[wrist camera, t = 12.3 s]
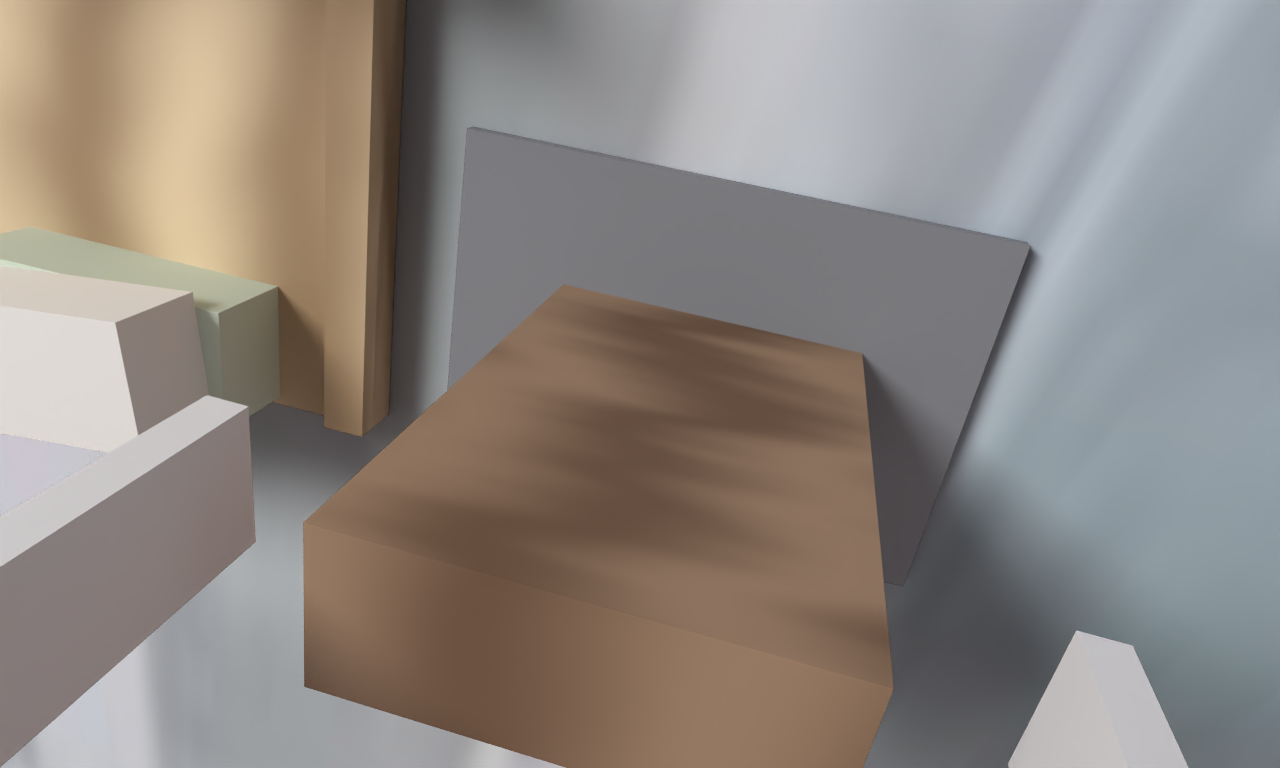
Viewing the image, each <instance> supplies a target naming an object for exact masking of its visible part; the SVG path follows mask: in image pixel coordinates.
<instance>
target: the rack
mask: <svg viewBox="0 0 1280 768" xmlns="http://www.w3.org/2000/svg"><path fill="white" fill-rule="evenodd" d="M405 18H406V0H0V234H1V233H5V232H10V231H14V230H18V229H22V228H27V227H35V228H39V229H44V230H48V231H52V232H56V233H60V234H64V235H68V236H72V237H77V238H81V239H85V240H89V241H93V242H97V243H101V244H105V245H110V246H114V247H118V248H122V249H126V250H130V251H134V252H138V253H143V254H147V255H151V256H155V257H159V258H163V259H167V260H171V261H175V262H180V263H184V264H188V265H192V266H196V267H200V268H204V269H208V270H213V271H217V272H221V273H225V274H229V275H233V276H237V277H241V278H246V279H250V280H254V281H258V282H262V283H266V284H270V285H274V286H278V313H279V364H280V397H279V398H277V399H276V400H274V401H273V402H274V403H278V404H282V405H286V406H290V407H293V408H297V409H301V410H305V411H309V412H313V413H316V414H320V415H324V427H326V428H330V429H333V430H337V431H341V432H345V433H348V434H352V435H356V436H360V437H362V436H364V435H365V434H366V433H367V432H368V431H370V430H371V429H372V428H373V427H374V426H375V425H377V424H378V423H379V422H380V421H381V420H383V419H384V418H385V417H386V416H387V415H388V414H389V395H390V371H391V348H392V324H393V301H394V277H395V254H396V230H397V206H398V183H399V159H400V136H401V112H402V88H403V65H404V41H405Z"/></svg>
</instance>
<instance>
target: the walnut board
mask: <svg viewBox="0 0 1280 768" xmlns="http://www.w3.org/2000/svg"><path fill="white" fill-rule="evenodd" d="M303 543H304V687H307V688H310V689H314V690H317V691H320V692H323V693H327V694H330V695H333V696H336V697H340V698H343V699H346V700H349V701H353V702H356V703H359V704H362V705H365V706H369V707H372V708H375V709H378V710H382V711H385V712H388V713H391V714H395V715H398V716H401V717H404V718H408V719H411V720H414V721H417V722H421V723H424V724H427V725H430V726H433V727H437V728H440V729H443V730H446V731H450V732H453V733H456V734H459V735H463V736H466V737H469V738H472V739H476V740H479V741H482V742H485V743H488V744H492V745H495V746H498V747H501V748H505V749H508V750H511V751H514V752H518V753H521V754H524V755H527V756H531V757H534V758H537V759H540V760H543V761H547V762H550V763H553V764H556V765H560V766H563V767H566V768H863V766H864V763H865V761H866V758H867V756H868V753H869V751H870V748H871V746H872V743H873V741H874V738H875V735H876V733H877V730H878V728H879V725H880V723H881V720H882V718H883V715H884V713H885V710H886V708H887V705H888V703H889V700H890V697H891V695H892V692H893V690H894V685H893V675H892V664H891V653H890V643H889V632H888V622H887V611H886V601H885V590H884V579H883V569H882V558H881V548H880V537H879V527H878V516H877V505H876V495H875V484H874V474H873V463H872V453H871V442H870V431H869V421H868V410H867V400H866V389H865V379H864V368H863V357H862V353H858V352H854V351H850V350H845V349H841V348H837V347H833V346H828V345H824V344H820V343H815V342H811V341H807V340H802V339H798V338H794V337H789V336H785V335H781V334H776V333H772V332H768V331H763V330H759V329H755V328H750V327H746V326H742V325H737V324H733V323H729V322H724V321H720V320H716V319H711V318H707V317H703V316H698V315H694V314H690V313H686V312H681V311H677V310H673V309H668V308H664V307H660V306H655V305H651V304H647V303H642V302H638V301H634V300H629V299H625V298H621V297H616V296H612V295H608V294H603V293H599V292H595V291H590V290H586V289H582V288H577V287H573V286H569V285H564V284H563V285H562V286H561V287H560V288H559V289H558V290H557V291H556V292H554V293H553V294H552V295H551V296H550V297H549V298H548V299H547V300H546V301H545V302H544V303H542V304H541V305H540V306H539V307H538V308H537V309H536V310H535V311H534V312H533V313H532V314H530V315H529V316H528V317H527V318H526V319H525V320H524V321H523V322H522V323H521V324H520V325H518V326H517V327H516V328H515V329H514V330H513V331H512V332H511V333H510V334H509V335H508V336H506V337H505V338H504V339H503V340H502V341H501V342H500V343H499V344H498V345H497V346H496V347H494V348H493V349H492V350H491V351H490V352H489V353H488V354H487V355H486V356H485V357H484V358H482V359H481V360H480V361H479V362H478V363H477V364H476V365H475V366H474V367H473V368H472V369H471V370H469V371H468V372H467V373H466V374H465V375H464V376H463V377H462V378H461V379H460V380H459V381H457V382H456V383H455V384H454V385H453V386H452V387H451V388H450V389H449V390H448V391H447V392H445V393H444V394H443V395H442V396H441V397H440V398H439V399H438V400H437V401H436V402H435V403H433V404H432V405H431V406H430V407H429V408H428V409H427V410H426V411H425V412H424V413H423V414H421V415H420V416H419V417H418V418H417V419H416V420H415V421H414V422H413V423H412V424H411V425H409V426H408V427H407V428H406V429H405V430H404V431H403V432H402V433H401V434H400V435H399V436H397V437H396V438H395V439H394V440H393V441H392V442H391V443H390V444H389V445H388V446H387V447H385V448H384V449H383V450H382V451H381V452H380V453H379V454H378V455H377V456H376V457H375V458H373V459H372V460H371V461H370V462H369V463H368V464H367V465H366V466H365V467H364V468H363V469H361V470H360V471H359V472H358V473H357V474H356V475H355V476H354V477H353V478H352V479H351V480H349V481H348V482H347V483H346V484H345V485H344V486H343V487H342V488H341V489H340V490H339V491H337V492H336V493H335V494H334V495H333V496H332V497H331V498H330V499H329V500H328V501H327V502H325V503H324V504H323V505H322V506H321V507H320V508H319V509H318V510H317V511H316V512H315V513H313V514H312V515H311V516H310V517H309V518H308V519H307V520H306V521H305V522H304V523H303Z"/></svg>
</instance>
